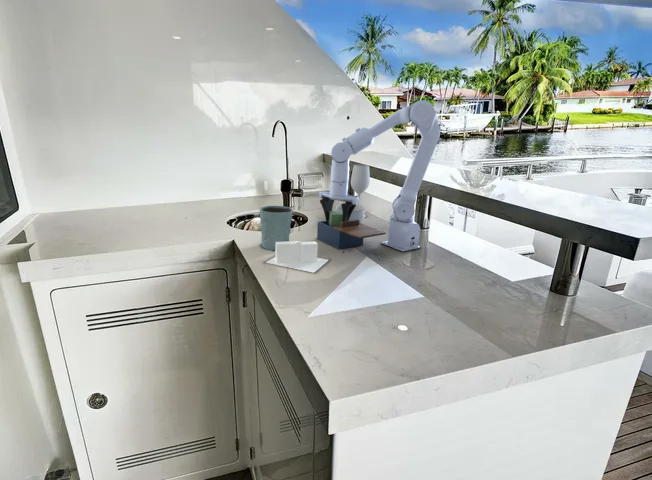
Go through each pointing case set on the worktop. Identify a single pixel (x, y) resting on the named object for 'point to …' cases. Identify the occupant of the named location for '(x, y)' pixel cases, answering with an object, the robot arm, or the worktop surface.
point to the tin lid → (358, 229)
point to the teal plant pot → (275, 225)
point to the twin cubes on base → (297, 255)
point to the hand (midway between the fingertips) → (336, 222)
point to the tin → (336, 236)
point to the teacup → (355, 212)
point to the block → (335, 218)
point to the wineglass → (360, 179)
